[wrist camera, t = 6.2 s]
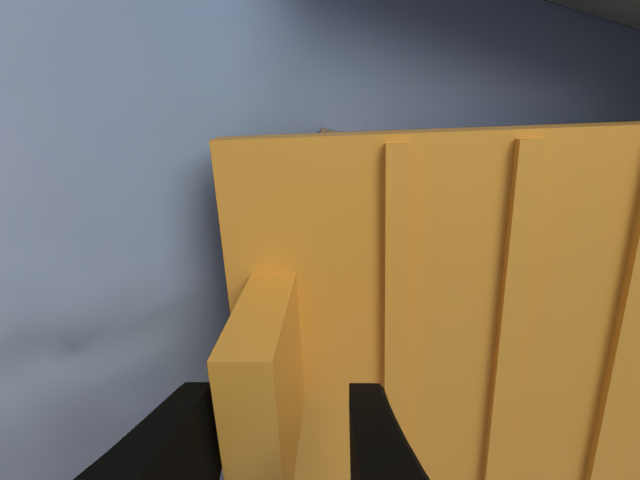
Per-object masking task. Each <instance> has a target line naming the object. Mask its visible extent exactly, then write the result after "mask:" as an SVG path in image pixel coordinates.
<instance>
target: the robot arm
mask: <svg viewBox="0 0 640 480" xmlns="http://www.w3.org/2000/svg"><path fill="white" fill-rule="evenodd" d="M349 428H350V474H351V480H430V479H429V477H428V475H427V474H426V472H425V471H424V469H423V467H422V465H421V464H420V462H419V460H418V458H417V457H416V455H415V453H414V451H413V450H412V448H411V446H410V445H409V443H408V441H407V439H406V437H405V435H404V433H403V431H402V429H401V427H400V425H399V423H398V421H397V419H396V417H395V415H394V413H393V411H392V408H391V406H390V404H389V401H388V398H387V396H386V393H385V389H384V388H383V387H382V386H381V385H380V384H379V383H349ZM221 469H222V463H221V456H220V449H219V443H218V436H217V429H216V422H215V415H214V408H213V402H212V395H211V388H210V382H185V383H184V384H183V385H181V386H180V387H179V388H178V389H177V390H176V391H174V392H173V393H172V394H171V395H170V396H169V397H168V398H167V399H166V400H165V401H163V402H162V403H161V404H160V405H159V406H158V407H157V408H156V409H155V410H154V411H152V412H151V413H150V414H149V415H148V416H147V417H146V418H145V419H144V420H143V421H141V422H140V423H139V424H138V425H137V426H136V427H135V428H134V429H132V430H131V431H130V432H129V433H128V434H127V435H126V436H125V437H123V438H122V439H121V440H120V441H119V442H118V443H117V444H115V445H114V446H113V447H112V448H111V449H110V450H109V451H107V452H106V453H105V454H104V455H103V456H101V457H100V458H99V459H98V460H97V461H95V462H94V463H93V464H92V465H90V466H89V467H88V468H87V469H85V470H84V471H83V472H82V473H81V474H79V475H78V476H77V477H76V478H74V479H73V480H219V478H220V473H221Z"/></svg>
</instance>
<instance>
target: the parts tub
mask: <svg viewBox="0 0 640 480" xmlns="http://www.w3.org/2000/svg"><path fill="white" fill-rule="evenodd" d="M545 1H549V2H552V3H555V4H558V5H562V6H565V7H568V8H571V9H574V10H578V11H581V12H584V13H587V14H591V15H594V16H597V17H600V18H604V19H607V20H610V21H613V22H617V23H620V24H623V25H626V26H629V27H633V28H636V29H639V30H640V0H545Z"/></svg>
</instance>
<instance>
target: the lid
mask: <svg viewBox="0 0 640 480" xmlns="http://www.w3.org/2000/svg"><path fill="white" fill-rule="evenodd" d="M209 143H210V151H211V159H212V167H213V176H214V184H215V192H216V200H217V208H218V217H219V225H220V233H221V241H222V250H223V258H224V266H225V274H226V283H227V291H228V299H229V307H230V317H229V319H228V321H227V323H226V325H225V327H224V329H223V331H222V333H221V335H220V337H219V339H218V341H217V343H216V345H215V347H214V349H213V351H212V353H211V355H210V356H209V358H208V360H207V367H208V374H209V381H210V388H211V395H212V402H213V408H214V415H215V422H216V429H217V436H218V443H219V449H220V456H221V463H222V470H223V477H224V480H351V474H350V428H349V383H379V384H380V385H381V386H382V387H383V388H384V389H385V393H386V396H387V398H388V401H389V404H390V406H391V408H392V411H393V413H394V415H395V417H396V419H397V421H398V423H399V425H400V427H401V429H402V431H403V433H404V435H405V437H406V439H407V441H408V443H409V445H410V446H411V448H412V450H413V451H414V453H415V455H416V457H417V458H418V460H419V462H420V464H421V465H422V467H423V469H424V471H425V472H426V474H427V475H428V477H429V479H430V480H640V121H628V122H601V123H574V124H547V125H520V126H494V127H467V128H440V129H413V130H386V131H360V132H333V133H306V134H279V135H252V136H226V137H217V138H214V139H212V140H209Z"/></svg>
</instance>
